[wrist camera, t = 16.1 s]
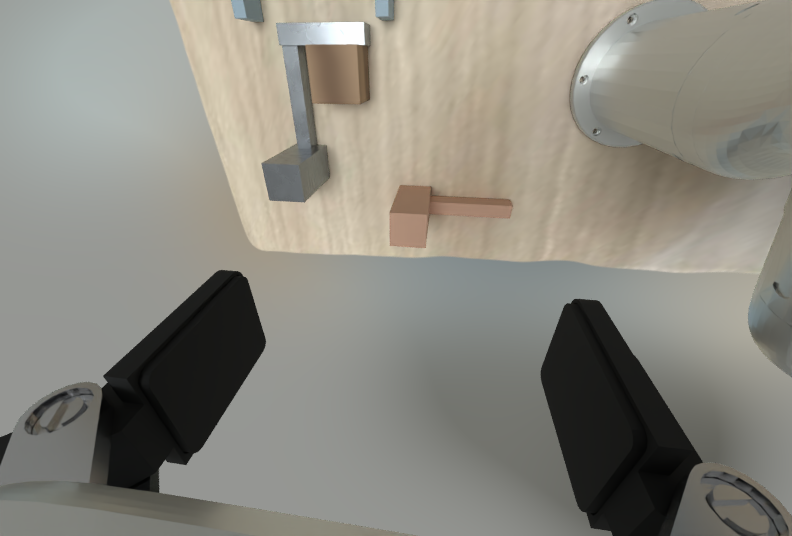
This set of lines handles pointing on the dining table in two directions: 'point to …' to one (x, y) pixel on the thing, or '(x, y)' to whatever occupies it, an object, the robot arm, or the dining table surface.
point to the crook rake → (305, 110)
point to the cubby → (250, 10)
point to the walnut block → (338, 73)
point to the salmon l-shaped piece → (434, 212)
